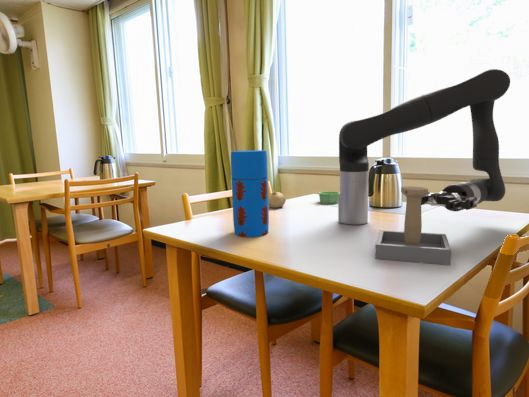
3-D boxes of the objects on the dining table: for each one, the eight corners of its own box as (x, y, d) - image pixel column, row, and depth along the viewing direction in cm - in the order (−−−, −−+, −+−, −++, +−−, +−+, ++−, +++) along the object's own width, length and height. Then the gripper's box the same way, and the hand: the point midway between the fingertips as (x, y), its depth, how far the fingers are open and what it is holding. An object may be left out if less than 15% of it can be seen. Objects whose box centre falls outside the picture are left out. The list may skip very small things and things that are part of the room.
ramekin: (342, 201, 166) (342, 191, 165) (335, 205, 158) (335, 194, 158) (323, 200, 171) (323, 190, 170) (315, 203, 163) (315, 193, 162)
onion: (264, 206, 159) (264, 189, 158) (282, 205, 161) (282, 188, 160) (269, 210, 152) (268, 192, 151) (288, 208, 154) (287, 191, 152)
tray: (375, 258, 89) (375, 244, 89) (379, 242, 102) (379, 230, 102) (450, 265, 84) (451, 249, 83) (444, 247, 97) (445, 234, 96)
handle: (413, 253, 89) (416, 190, 87) (395, 246, 95) (397, 187, 93) (429, 250, 91) (432, 189, 88) (410, 244, 97) (412, 186, 94)
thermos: (256, 239, 109) (253, 152, 105) (226, 234, 115) (223, 152, 111) (275, 230, 118) (273, 150, 114) (247, 227, 124) (244, 150, 120)
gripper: (436, 181, 112) (407, 186, 102) (489, 185, 101) (461, 192, 91) (435, 206, 113) (406, 214, 103) (487, 212, 102) (460, 222, 92)
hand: (432, 203), depth 97 cm, fingers open, 8 cm apart
